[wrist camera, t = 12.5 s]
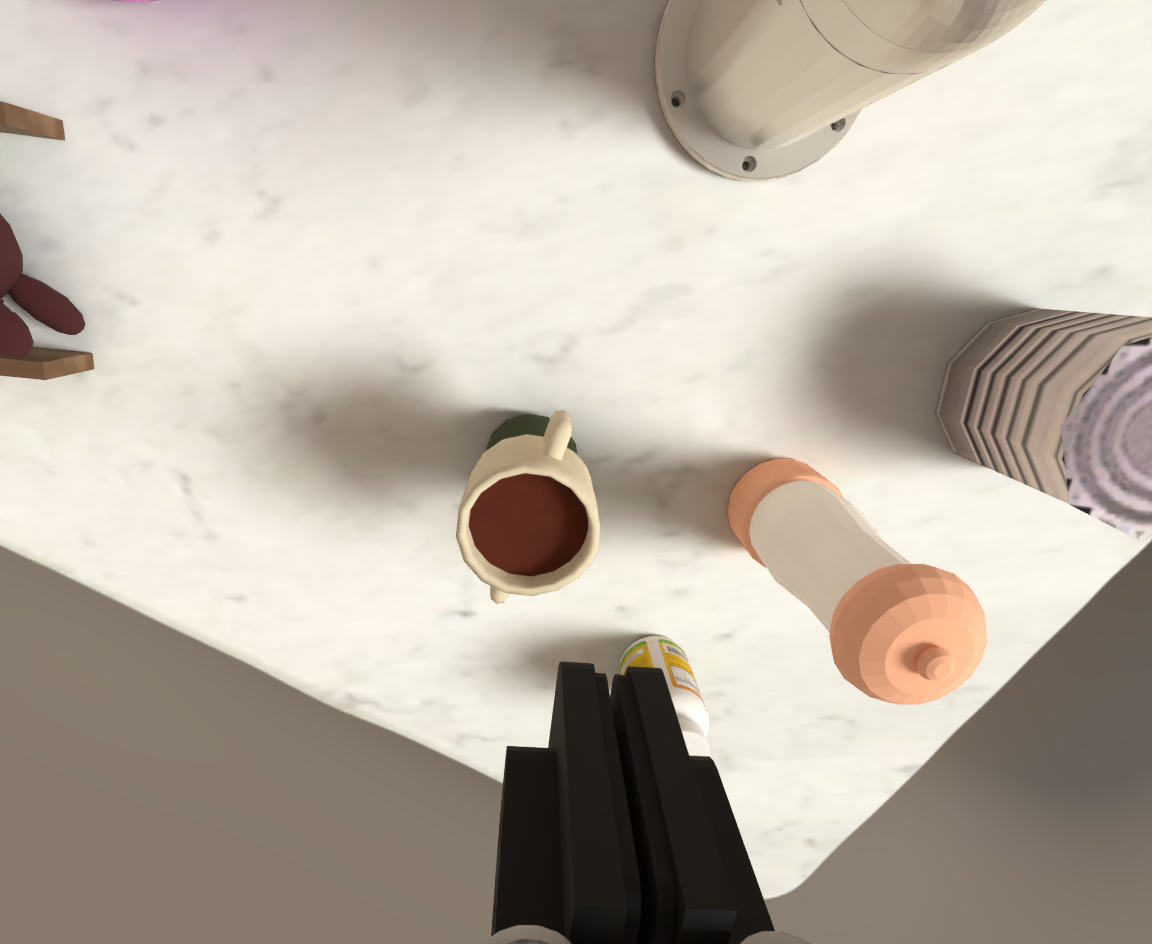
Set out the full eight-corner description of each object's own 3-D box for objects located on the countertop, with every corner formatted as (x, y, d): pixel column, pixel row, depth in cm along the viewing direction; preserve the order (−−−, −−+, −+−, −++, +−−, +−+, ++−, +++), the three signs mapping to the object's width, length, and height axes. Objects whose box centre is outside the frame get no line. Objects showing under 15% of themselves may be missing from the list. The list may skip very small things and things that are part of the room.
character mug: (553, 539, 44) (558, 645, 32) (458, 509, 43) (425, 605, 30) (608, 400, 41) (638, 456, 29) (508, 363, 40) (494, 405, 27)
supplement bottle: (620, 695, 49) (639, 794, 39) (615, 637, 47) (634, 727, 38) (687, 687, 49) (721, 785, 39) (685, 629, 47) (720, 717, 38)
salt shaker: (825, 544, 45) (1016, 728, 27) (729, 557, 45) (856, 750, 27) (826, 451, 43) (1037, 584, 25) (725, 464, 43) (862, 607, 25)
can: (1033, 489, 45) (1200, 564, 34) (903, 438, 43) (1034, 499, 32) (1127, 343, 42) (1347, 371, 30) (992, 281, 40) (1172, 285, 29)
